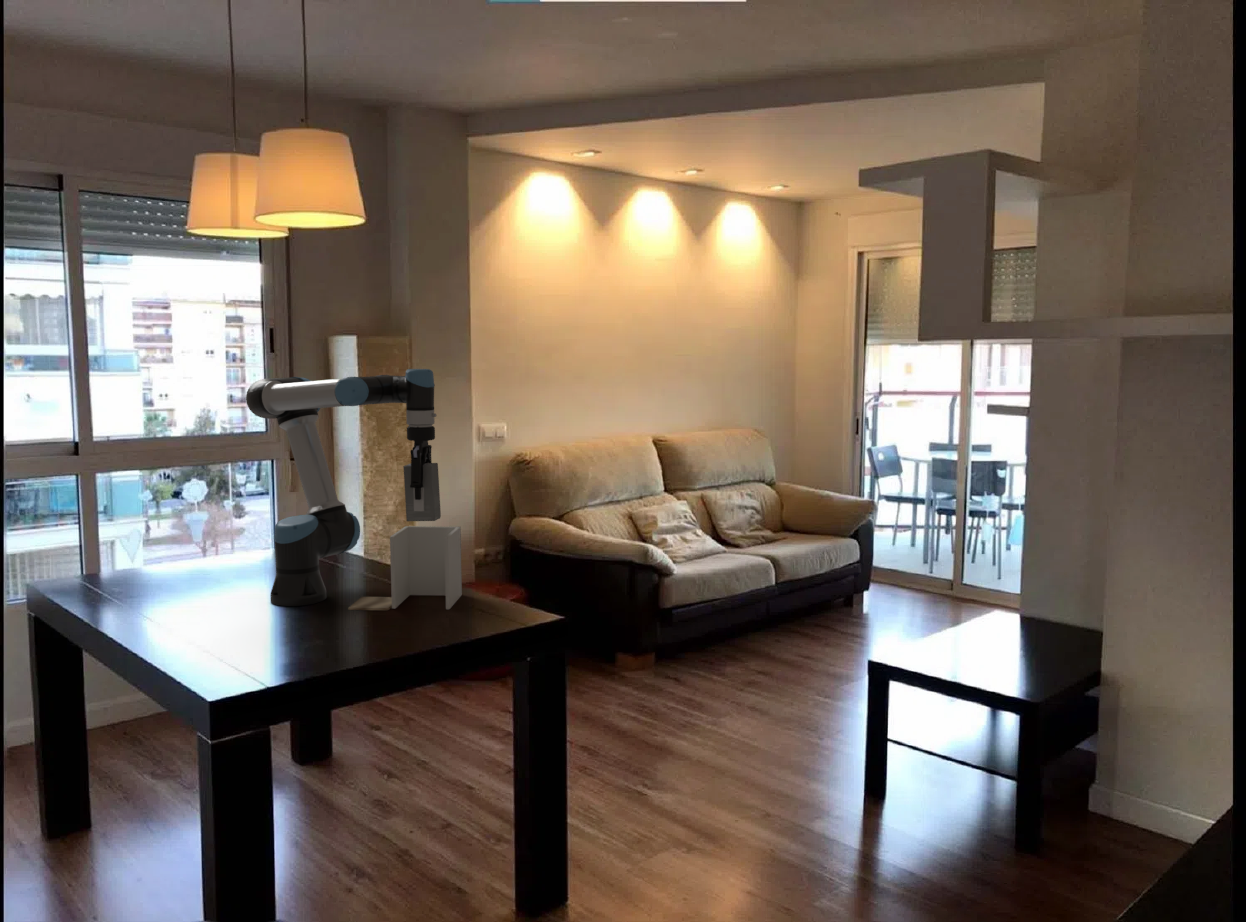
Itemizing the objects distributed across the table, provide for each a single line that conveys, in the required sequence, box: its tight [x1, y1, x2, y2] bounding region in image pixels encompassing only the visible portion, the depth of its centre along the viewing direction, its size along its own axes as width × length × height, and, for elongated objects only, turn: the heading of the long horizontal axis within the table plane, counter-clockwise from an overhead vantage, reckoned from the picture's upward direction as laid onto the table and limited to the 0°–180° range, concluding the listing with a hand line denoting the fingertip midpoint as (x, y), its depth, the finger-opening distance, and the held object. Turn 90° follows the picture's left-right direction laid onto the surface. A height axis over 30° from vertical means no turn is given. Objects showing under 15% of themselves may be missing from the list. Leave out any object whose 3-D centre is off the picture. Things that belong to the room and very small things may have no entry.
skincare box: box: [403, 462, 442, 522], centre depth 277 cm, size 8×7×16 cm
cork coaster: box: [347, 596, 392, 611], centre depth 280 cm, size 11×12×1 cm
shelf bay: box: [389, 525, 463, 610], centre depth 282 cm, size 16×16×20 cm
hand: (422, 508), depth 278 cm, fingers closed on skincare box, 7 cm apart
